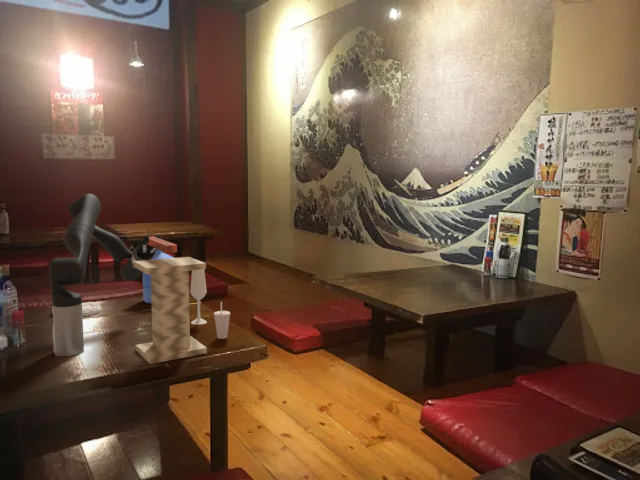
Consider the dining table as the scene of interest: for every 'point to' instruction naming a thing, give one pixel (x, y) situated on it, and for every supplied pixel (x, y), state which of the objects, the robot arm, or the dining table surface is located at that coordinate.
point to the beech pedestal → (170, 309)
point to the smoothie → (222, 323)
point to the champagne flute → (198, 292)
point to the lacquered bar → (162, 245)
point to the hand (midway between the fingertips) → (153, 237)
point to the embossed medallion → (90, 308)
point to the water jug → (147, 277)
